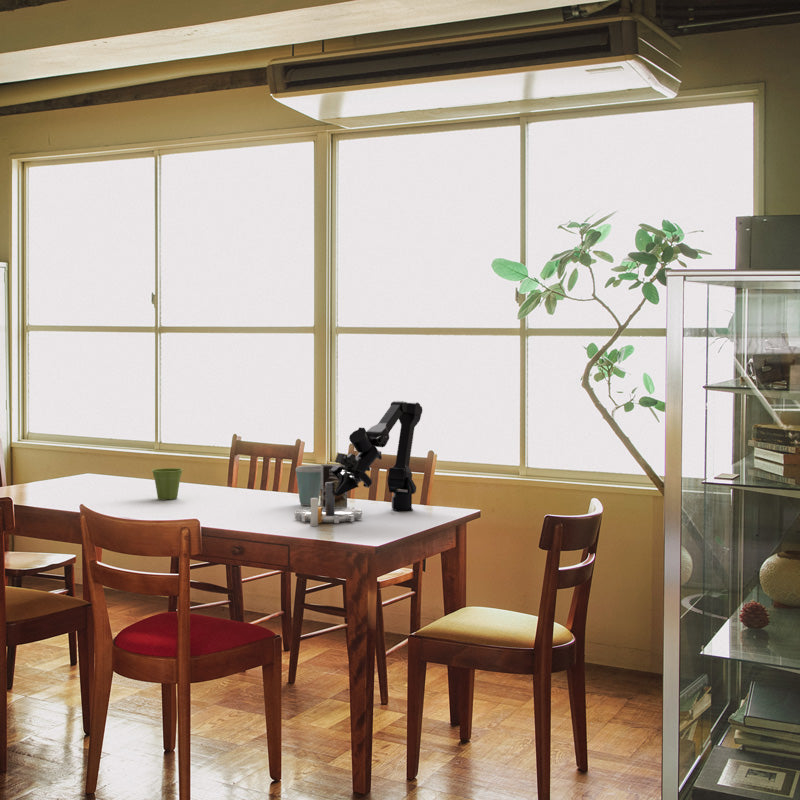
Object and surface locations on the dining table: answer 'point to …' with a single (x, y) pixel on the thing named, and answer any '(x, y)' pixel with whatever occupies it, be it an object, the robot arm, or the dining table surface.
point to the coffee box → (330, 477)
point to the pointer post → (314, 511)
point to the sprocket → (330, 510)
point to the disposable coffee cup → (308, 483)
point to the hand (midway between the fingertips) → (335, 495)
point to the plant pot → (167, 482)
